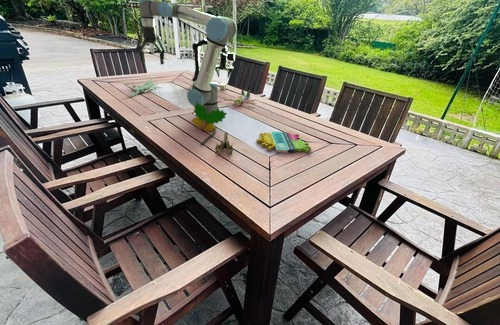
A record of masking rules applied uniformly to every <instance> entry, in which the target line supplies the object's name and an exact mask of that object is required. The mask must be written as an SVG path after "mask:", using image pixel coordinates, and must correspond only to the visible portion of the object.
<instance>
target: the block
mask: <svg viewBox="0 0 500 325" xmlns="http://www.w3.org/2000/svg"><path fill="white" fill-rule="evenodd" d="M219 86H220V88H219V89H220V90H221V91H225V90H227V83H220V84H219Z"/></svg>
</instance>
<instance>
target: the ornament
mask: <svg viewBox="0 0 500 325" xmlns="http://www.w3.org/2000/svg"><path fill="white" fill-rule="evenodd" d="M219 110H220V108H219V109H217V110H216V111H214V110H212V112H211V113H208V112H206V109H204V106H201V104H198V103H197V102H196V106H193V112H194V113H195V118H192V119H191V122H192V123H193V125H195V127H197V128H198V129H202V130H203V131H206V132H214V128H215V129H216V126H215V124H218V123H219V122H223V119H226V115H227V114H228V113H227V112H224V110H223V109H221V110H220V111H219ZM207 113H208V115H207ZM214 123H215V124H214Z"/></svg>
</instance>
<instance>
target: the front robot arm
mask: <svg viewBox="0 0 500 325" xmlns="http://www.w3.org/2000/svg"><path fill="white" fill-rule="evenodd" d="M138 4H139V5H138V6H139V12H140V20H141V26H142V27H141V29H142V33H141V34H138V40H137V43H136V46H135V50H136V51H138V53H139V58H140V60H141V63H145V62H146V59H145V58H146V57H145V51H144V49H145V47H146V45H147V44H153V45H154V46H155V47H156V49H157V50H158V52H159V61H160V65H164V64H165V61H164V59H165V53H167V52H168V51H167V48H166V47H165V44H164V42H163V39H162V37H161V35H156V33H157V32H156V31H157V30H156V27H155V26H156V21H155V17H162V18H175V19H179V20H180V21H181V20H182V21H185V22H188V23H191V24H193V25H196V26H199V27H203V28H205V34H206V38H205V39H206V40H207V42H208V44H207V45H206V47H205V50H204V54H203V58H202V60H201V63H200V71H199V74H198V77H197V80H196V81H194V82H193V81H192V85H191V88H190V89H188V91H187V93H186V99H187V101H188V103H189V104H190V105H191V106H192V107H194V106H196V102H197V103H198V104H201V106H204V109H206V112H208V113H211V112H212V110H214V111H216V110H217V109H219V111H221V110H220V108H219V102H218V99H219V98H218V97H219V87H218V83H217V82H216V81H212V80H213V77H214V74H215V72H216V70H215V68H216V65H217V66H218V63H219V58H220V53H222V52H221V50H222V48H225V47H227V43H228V40H231V39H233V38H234V37H235V36H236V34H237V29H238V28H237V23H236V22H235V21H234V20H233V19H232V18H230V17H229V16H227V17H226V16H221V15H217V16H215V15H212V14H209V13H205V12H204V11H199V10H196V9H194V8H190V7H187V6H184V5H181V4H179V3H177V2H168V1H163V0H161V1H159V0H158V1H156V0H155V1H154V0H138ZM208 113H207V115H208ZM216 130H217V129H216V127H215V128H214V130H213V131H212V134H210V135H209V136H208V137H207V138H205V139H204V140H203V141H202V142H201V143H200V145H201V146H202V145H204V144H205V143H206V142H207V141H208V140H209V139H210V138H212V137H214V135H215V134H216Z"/></svg>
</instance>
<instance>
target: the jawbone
mask: <svg viewBox="0 0 500 325" xmlns="http://www.w3.org/2000/svg"><path fill="white" fill-rule="evenodd" d="M223 135H224V136H223V140H222V139H221V142H220V144H218V142H215V144H216V146H215V148H214V149H215V152H214V154H215V155H217V156H218V155H220V153H221V152H223V151H224V150H226V152H227V153H228V155H229V156H233V155H234V154H233V153H234V148H233V144H234V143H230V140H228V139H229V138H228V137H229V136H228V135H229V133H228V131H226V132H224V134H223Z"/></svg>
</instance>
